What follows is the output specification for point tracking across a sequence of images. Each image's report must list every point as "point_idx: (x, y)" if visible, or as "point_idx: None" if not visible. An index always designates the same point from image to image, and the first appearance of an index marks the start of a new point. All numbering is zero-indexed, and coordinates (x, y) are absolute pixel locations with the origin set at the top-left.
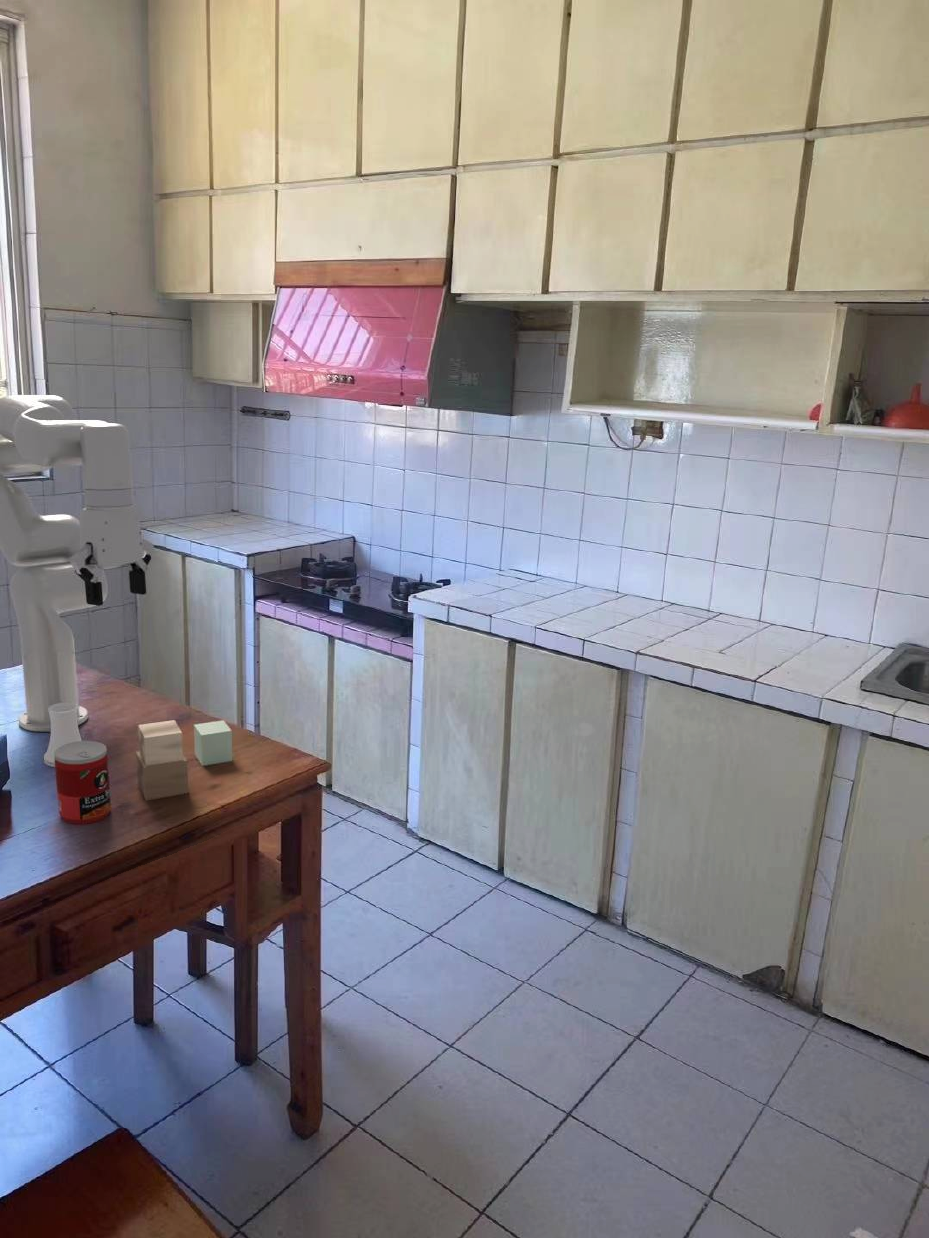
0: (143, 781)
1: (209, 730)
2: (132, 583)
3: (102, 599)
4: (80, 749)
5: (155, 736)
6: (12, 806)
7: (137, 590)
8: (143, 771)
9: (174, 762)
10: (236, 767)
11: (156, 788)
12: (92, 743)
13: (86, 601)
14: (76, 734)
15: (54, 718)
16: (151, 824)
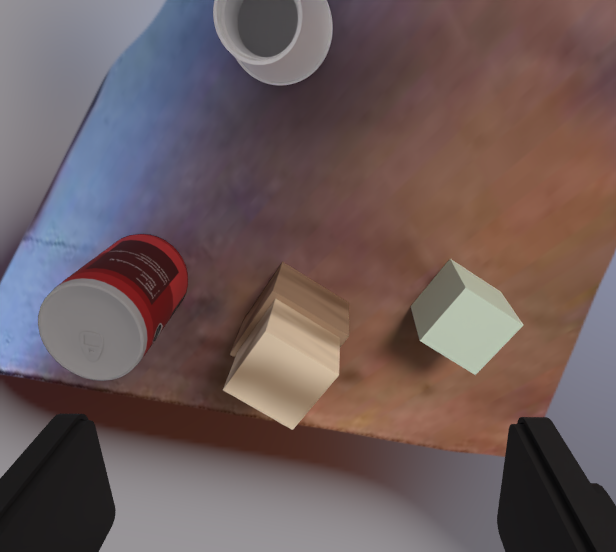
0: (243, 326)
1: (452, 337)
2: (538, 508)
3: (97, 546)
4: (100, 320)
5: (243, 401)
6: (75, 142)
7: (509, 504)
8: (235, 343)
9: None
10: (435, 360)
11: None
12: (131, 323)
13: (52, 420)
14: (281, 62)
15: (223, 26)
16: (194, 380)
